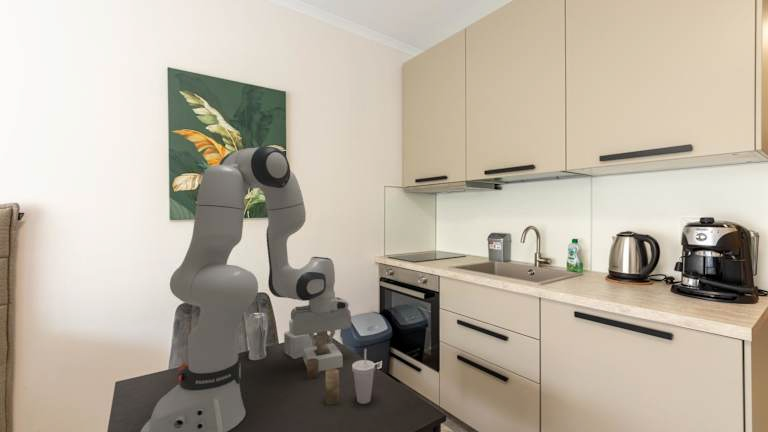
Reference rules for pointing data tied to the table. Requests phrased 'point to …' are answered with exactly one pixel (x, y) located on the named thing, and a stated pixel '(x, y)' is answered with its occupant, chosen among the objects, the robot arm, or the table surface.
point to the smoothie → (363, 379)
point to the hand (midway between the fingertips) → (322, 344)
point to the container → (295, 343)
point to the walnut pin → (312, 369)
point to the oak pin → (332, 386)
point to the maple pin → (322, 343)
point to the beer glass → (257, 335)
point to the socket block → (324, 357)
